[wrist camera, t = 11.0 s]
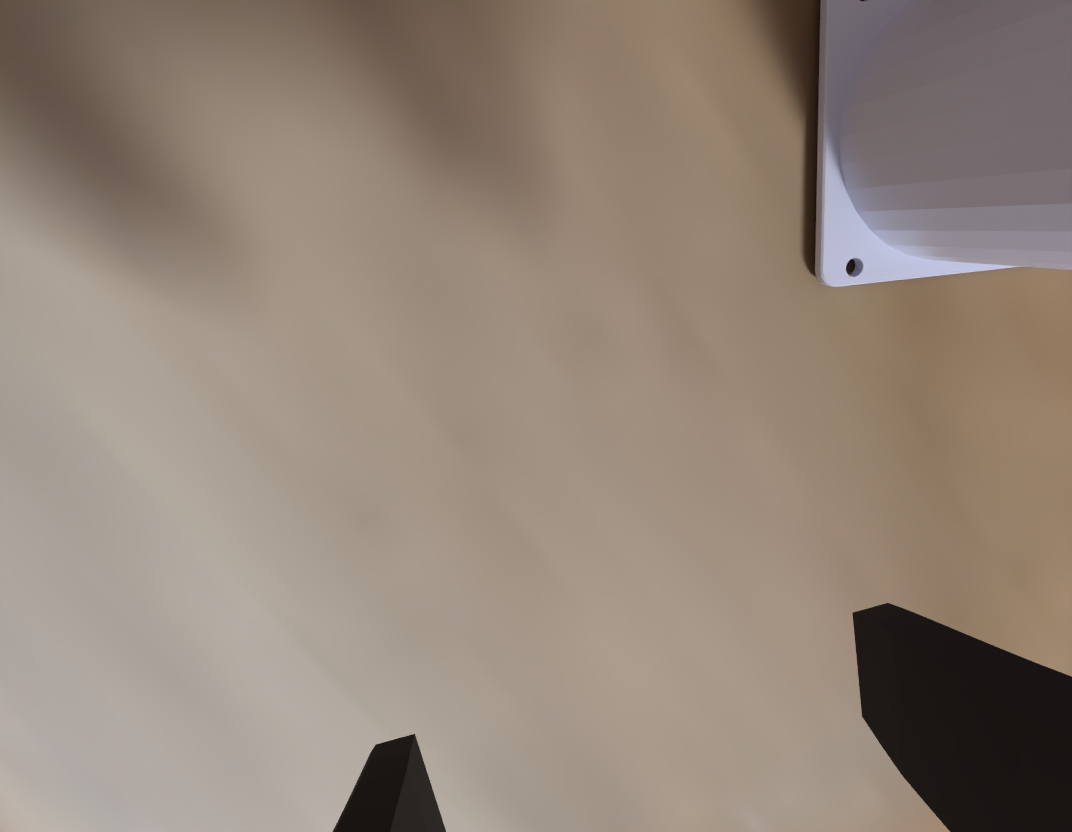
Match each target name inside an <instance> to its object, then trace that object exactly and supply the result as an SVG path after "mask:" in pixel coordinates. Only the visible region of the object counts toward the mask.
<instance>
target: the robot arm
mask: <svg viewBox="0 0 1072 832" xmlns="http://www.w3.org/2000/svg"><path fill="white" fill-rule="evenodd" d="M850 259H853V260H854V261H855V269H854V271H853V272H852V274H850V275H848V274H847V272H846V265H847V263H848V262H849V261H850ZM1021 266H1022V267H1037V268H1051V269H1066V270H1072V0H864V1H859V0H821V5H820V53H819V102H818V150H817V199H816V247H815V273H816V277H817V279H818V280H819V282H820V283H822V284H824V285H826V286H834V287H839V286H848V285H857V284H866V283H875V282H884V281H893V280H902V279H912V278H921V277H930V276H939V275H948V274H957V273H966V272H975V271H984V270H993V269H1002V268H1012V267H1021ZM853 622H854V633H855V643H856V654H857V665H858V676H859V687H860V697H861V708H862V717H863V718H864V720H865V721H866V723H867V724H868V726H869V727H870V729H871V730H872V732H873V733H874V735H875V737H876V738H877V740H878V741H879V743H880V744H881V746H882V747H883V749H884V750H885V751H886V753H887V754H888V756H889V757H890V759H891V760H892V761H893V763H894V764H895V766H896V767H897V769H898V770H899V771H900V773H901V774H902V776H903V777H904V778H905V779H906V780H907V782H908V783H909V784H910V785H911V786H912V788H913V789H914V790H915V791H916V792H917V793H918V795H919V796H920V797H921V798H922V799H923V800H924V802H925V803H926V804H927V805H928V806H929V807H930V809H931V810H932V811H933V812H934V813H935V814H936V816H937V817H938V818H939V819H940V820H941V821H942V823H943V824H944V825H945V826H946V827H947V828H948V830H949V831H950V832H1072V677H1071V676H1068V675H1066V674H1063V673H1061V672H1058V671H1055V670H1053V669H1050V668H1047V667H1045V666H1042V665H1040V664H1037V663H1035V662H1032V661H1030V660H1027V659H1025V658H1022V657H1020V656H1017V655H1015V654H1012V653H1010V652H1007V651H1005V650H1002V649H1000V648H997V647H995V646H993V645H990V644H988V643H985V642H983V641H981V640H978V639H976V638H973V637H971V636H969V635H966V634H964V633H961V632H959V631H957V630H954V629H952V628H950V627H947V626H945V625H942V624H940V623H938V622H935V621H933V620H930V619H928V618H926V617H923V616H921V615H918V614H916V613H913V612H911V611H908V610H906V609H903V608H900V607H898V606H895V605H892V604H889V603H886V604H883V605H879V606H875V607H872V608H868V609H865V610H861V611H857V612H854V613H853ZM333 832H446V830H445V827H444V824H443V821H442V818H441V814H440V811H439V808H438V805H437V802H436V799H435V796H434V793H433V790H432V786H431V783H430V780H429V777H428V774H427V771H426V768H425V765H424V761H423V758H422V755H421V752H420V749H419V746H418V743H417V740H416V736H415V734H413V735H409V736H406V737H402V738H398V739H395V740H391V741H387V742H384V743H380V744H377V745H375V747H374V748H373V750H372V751H371V753H370V755H369V757H368V759H367V762H366V764H365V766H364V768H363V770H362V772H361V774H360V777H359V779H358V781H357V783H356V785H355V787H354V789H353V791H352V794H351V796H350V798H349V800H348V802H347V804H346V806H345V808H344V810H343V812H342V814H341V816H340V818H339V820H338V822H337V824H336V826H335V828H334V830H333Z"/></svg>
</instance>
